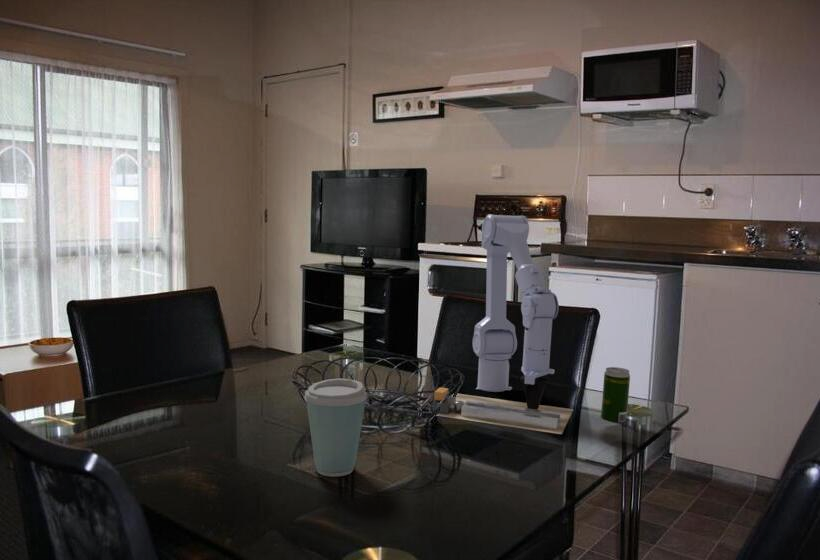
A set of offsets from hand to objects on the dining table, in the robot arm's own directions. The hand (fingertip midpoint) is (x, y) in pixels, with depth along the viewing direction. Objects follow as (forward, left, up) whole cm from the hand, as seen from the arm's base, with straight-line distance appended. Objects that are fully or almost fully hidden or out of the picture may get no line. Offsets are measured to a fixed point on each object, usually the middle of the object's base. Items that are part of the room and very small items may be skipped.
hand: (532, 409), depth 156 cm
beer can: (-5, +17, -2) cm, 18 cm away
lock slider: (+6, -19, +1) cm, 20 cm away
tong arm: (+6, -5, -1) cm, 7 cm away
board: (+2, -6, -2) cm, 7 cm away
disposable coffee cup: (+46, -26, -2) cm, 53 cm away
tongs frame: (+6, -7, -1) cm, 9 cm away
